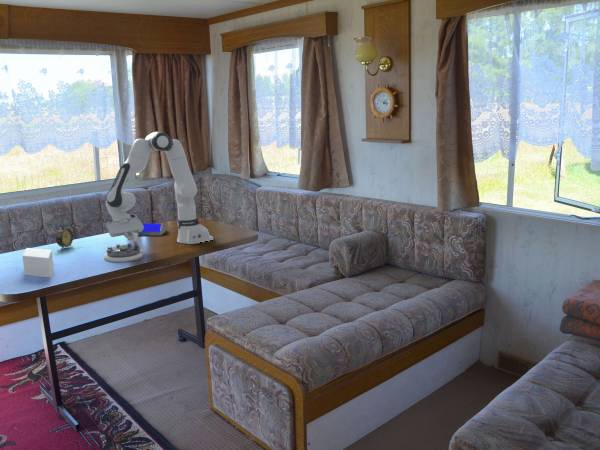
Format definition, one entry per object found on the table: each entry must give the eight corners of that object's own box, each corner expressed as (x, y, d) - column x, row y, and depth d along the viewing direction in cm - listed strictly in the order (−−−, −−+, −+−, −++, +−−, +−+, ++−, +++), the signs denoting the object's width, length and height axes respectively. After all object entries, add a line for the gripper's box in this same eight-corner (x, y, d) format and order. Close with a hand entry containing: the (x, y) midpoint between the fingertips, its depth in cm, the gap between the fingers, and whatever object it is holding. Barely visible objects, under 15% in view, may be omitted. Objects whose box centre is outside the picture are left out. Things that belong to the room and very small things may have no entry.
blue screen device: (166, 231, 368) (165, 220, 366) (160, 236, 355) (159, 225, 353) (134, 231, 369) (133, 221, 367) (127, 236, 355) (126, 225, 353)
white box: (35, 281, 267) (33, 261, 264) (14, 269, 287) (12, 250, 284) (65, 274, 277) (63, 255, 275) (42, 263, 297) (40, 245, 294)
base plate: (141, 250, 320) (140, 239, 319) (145, 259, 301) (144, 248, 299) (103, 254, 313) (102, 243, 311) (104, 263, 294) (103, 252, 292)
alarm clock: (63, 250, 321) (60, 224, 317) (55, 250, 322) (52, 223, 318) (74, 246, 331) (71, 220, 328) (66, 245, 332) (63, 219, 329)
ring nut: (146, 252, 307) (145, 233, 305) (118, 259, 294) (116, 239, 291) (128, 247, 319) (126, 228, 316) (100, 253, 305) (98, 234, 303)
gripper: (106, 219, 307) (116, 239, 302) (138, 214, 321) (148, 233, 316) (103, 226, 311) (113, 245, 306) (135, 220, 325) (145, 239, 320)
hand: (131, 239), depth 311 cm, fingers closed
